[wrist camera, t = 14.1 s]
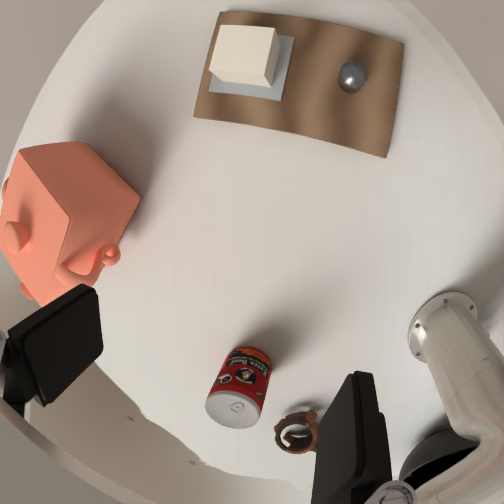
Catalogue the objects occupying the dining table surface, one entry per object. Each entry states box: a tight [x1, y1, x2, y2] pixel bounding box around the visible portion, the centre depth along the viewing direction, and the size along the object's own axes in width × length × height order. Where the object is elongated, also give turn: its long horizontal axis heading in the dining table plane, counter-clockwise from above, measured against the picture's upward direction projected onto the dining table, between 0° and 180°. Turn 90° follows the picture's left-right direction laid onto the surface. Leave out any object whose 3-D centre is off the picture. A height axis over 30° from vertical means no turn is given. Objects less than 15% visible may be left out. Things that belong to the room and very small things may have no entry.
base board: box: [193, 12, 404, 158], centre depth 29 cm, size 24×16×2 cm, turn 78°
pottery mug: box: [274, 410, 318, 454], centre depth 44 cm, size 12×10×8 cm
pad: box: [209, 35, 294, 101], centre depth 29 cm, size 9×9×1 cm
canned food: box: [205, 347, 272, 429], centre depth 39 cm, size 8×8×11 cm
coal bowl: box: [399, 429, 480, 491], centre depth 34 cm, size 20×20×19 cm
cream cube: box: [209, 25, 280, 87], centre depth 26 cm, size 6×6×5 cm
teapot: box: [0, 142, 140, 307], centre depth 34 cm, size 25×23×18 cm
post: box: [338, 61, 368, 93], centre depth 26 cm, size 3×3×4 cm
